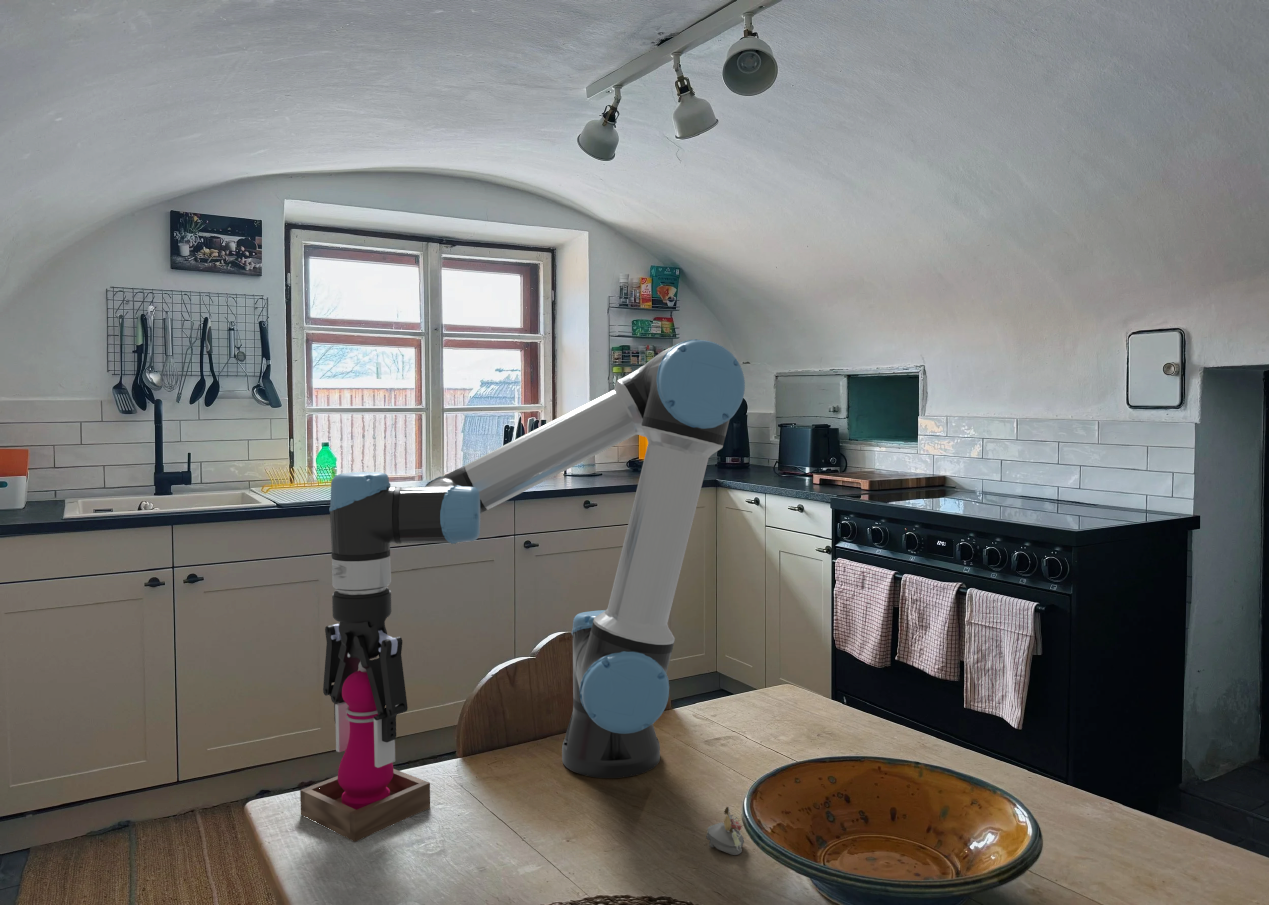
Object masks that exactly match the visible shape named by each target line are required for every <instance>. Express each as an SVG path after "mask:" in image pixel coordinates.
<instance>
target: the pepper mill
mask: <svg viewBox="0 0 1269 905" xmlns="http://www.w3.org/2000/svg"><path fill="white" fill-rule="evenodd" d="M342 697H343V700H344V701H345V702H346V704H347V705H348V707H347V709H346V712H347V715H346V719H347V720H348V721H349V723H350V735H349V741H348V745H347V748H346V750H345V751H344V753H343V755H342V758H341V760H340V763H339V766H338V769H337V770H338V771H337V776H338V783H339V785H340V786H341V787H342V789H343V790H345V792H344V793H343V794H342V804H345V805H347V806H349V807H351V808H353V809H356V810H357V809H360V808H362V807H364V806H367V805H369V804H372V803H374V802H376V801H379V800H381V799H383V798H386V797H388V796H390V790H389V788H388V787H387V785H388V784H389V783H390V781H391V780H392V778H393V774H394V771H393V769H394V762H392V763H389V764H387V765H384V766H382V767H379V768H377V767H375V756H374V716H377V715H378V712H377V709H376V705H375V701H374V697H373V694H372V690H371V686H370V682H369V679H368V675H367V671H366V669H365V668H363V667H362V665H361V661H360V663H359V665H358V671H356V672H354V673H352V674H351V675H349V676H348V677H347V679H346V680H345V682H344V684H343V687H342Z"/></svg>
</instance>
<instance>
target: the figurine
mask: <svg viewBox="0 0 1269 905" xmlns="http://www.w3.org/2000/svg"><path fill="white" fill-rule="evenodd" d="M723 814H724V815H725V818H724V820H723V822H718V823H715V824H712V825H709V826H708V827H707V833H706V837H705V838H706V839H707V840H708V841H709V842H708V844H709V847H710V848H712V849H713V848H715V849H717V850H718V851H722V852H723V853H726V854H729V855H731V856H733V855H734V856H737V855H740V854H741V853H742V852H743V851H742V850H743V849H742V847H743V845H744V843H745V840H744V836H743V835H742V831H741V829H742V825H741V823H740V820H739V818H738V817H739V815H736V817H735V815H734V814H731V810H730V807H729V806H726V807H725V809H724V812H723Z"/></svg>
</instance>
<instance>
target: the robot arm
mask: <svg viewBox="0 0 1269 905" xmlns="http://www.w3.org/2000/svg"><path fill="white" fill-rule="evenodd" d="M745 387H746V381H745V376H744V371H743V369H742V367H741V364H740V363H739V360H738V359H737V358H736V357H735V355H734V354H733V353H732V352H731V351H730V350H729V349H727V348H726V347H724V346H723V345H720V344H719V343H717V342H713V341H710V340H703V339H702V340H701V339H697V338H694V339H688V340H684V341H681V342H679V343H677V344H675V345H673V346H669V347H668V348H666V349H664V350H662V351H661V352H660V353H658V354H657V355H655V356H654V357H653V358H651V359H650V360H649V361H648V362H646V363H645V364H644V365H642V366H640V367H638V368H637V369H636V370H634V371H632V372H630V373H628V374H627V375H626V376H623V377H622V378H619V379H617V381H616V383H615V385H614V388H613V389H612V390H610V391H609V392H607V393H604V394H603V395H601V396H599V397H597V398H595V399H592V400H590V401H588V402H587V403H585V404H583V405H581V406H578V407H577V408H575V409H573V410H571V411H569V412H567V413H565V414H563V415H561V416H559V417H558V418H554V419H553V420H551V421H549V422H547V423H545V424H544V425H543V424H542V426H540V427H538V428H535V429H533V430H532V431H529V432H528V433H525V434H523V435H522V436H520V437H517V438H516V439H514V440H512V441H510V442H508V443H506V444H504V445H502V446H500V447H497V448H496V449H494V450H492V451H490V452H488V453H486V454H483V455H482V456H479V457H478V458H476V459H475V460H472V461H470V462H468V463H466V464H464V466H461V467H458V468H457V469H455V470H453V471H450V472H449V473H447V474H445V475H442V476H438V477H436V478H434V479H432V480H431V481H428V482H427V483H426V485H425V486H415V487H411V486H410V487H401V486H400V487H399V486H398V487H397V486H391V483H390V479H389V478H390V477H389V475H388V474H387V473H385V472H382V471H381V472H380V471H376V472H375V471H356V472H345V473H343V472H342V473H338V474H336V475H335V476H333V478H332V479H331V483H330V484H331V485H330V506H329V508H328V509H329V511H328V512H329V517H330V521H329V522H330V542H331V544H330V545H331V575H332V576H331V578H332V579H331V582H332V583H331V584H332V587H333V588H334V589H335V590H334V592H333V593H332V595H331V596H332V598H331V599H332V600H331V602H332V603H331V604H332V607H331V608H332V618H333V619H334V620H335V621H337V622H338V623H335V624H330V625H327V626H325V628H324V632H325V640H326V646H325V647H326V648H325V660H324V661H325V662H324V671H323V672H324V674H323V675H324V676H323V685H322V686H323V687H322V692H323V695H324V696H329V697H330V700H331V702H332V703H333V708H334V711H333V712H334V713H333V714H334V718H333V719H334V724H335V752H337V753H341V752H345V751H346V748H347V745H348V741H349V735H350V723H349V721H348V720H347V719H346V715H347V712H346V709H347V707H348V705H347V704H346V702H345V701H344V700H343V697H342V687H343V684H344V682H345V680H346V679H347V677H348V676H349V675H351V674H352V673H354V672H356V671H359V668H358V665H359V663H360V661H361V665H362V667H363V668H365V669H366V671H367V675H368V679H369V682H370V686H371V690H372V694H373V697H374V701H375V705H376V709H377V712H378V715H377V716H374V756H375V767H377V768H379V767H382V766H384V765H387V764H389V763H394V762H396V739H397V715H400V714H403V713H405V712H407V711H408V708H409V707H408V700H407V692H406V683H405V677H404V675H405V674H404V667H403V659H402V651H403V639H402V637H401V636H396V637H393V636H391V635H388V631H387V627H386V620H387V618H389V617H390V616H391V614H392V591H391V589H390V588H389V587H388V586H390V585H391V583H392V560H391V549H390V548H391V544H408V543H409V544H421V543H422V544H424V543H426V544H428V543H429V544H431V543H435V544H436V543H445V544H446V543H450V544H452V545H453V544H455V545H456V544H457V543H464V542H473V541H476V540H478V538H479V537H480V536H481V514H483V513H485V512H486V511H488V510H490V509H492V508H494V507H497V506H498V505H500V504H503V503H505V502H506V501H509V500H510V499H512V498H514V497H516V496H518V495H520V494H522V493H524V492H526V491H528V490H529V489H533V487H536V486H538V485H540V484H542V483H543V482H545V481H548V480H549V479H551V478H553V477H555V476H558V475H560V474H561V473H564V472H565V471H567V470H569V469H571V468H573V467H575V466H577V465H579V464H581V463H583V462H585V461H587V460H589V459H590V458H593V457H595V456H596V455H599V454H601V453H603V452H605V451H607V450H608V449H611V448H612V447H614V446H616V445H618V444H621V443H622V442H625V441H627V440H629V439H630V438H632V437H634V436H637V435H639V436H641V437H645V438H646V439H647V446H646V451H645V455H644V458H643V459H644V460H643V462H642V466H641V471H640V474H639V475H640V476H639V480H638V483H637V487H636V492H635V496H634V499H633V500H634V501H633V503H632V508H631V512H630V515H629V520H628V523H627V528H626V532H625V535H624V540H623V544H622V548H621V552H620V556H619V559H618V564H617V569H616V571H615V572H616V573H615V576H614V581H613V584H612V589H611V593H610V596H609V601H608V605H607V608H606V609H603V610H602V609H601V610H591V611H590V610H589V611H584V612H579V613H577V614H575V616H574V617H573V621H572V630H571V636H572V688H573V689H572V693H573V694H572V698H573V699H572V700H573V704H572V705H573V706H572V713H571V717H570V719H569V723H568V726H567V729H566V733H565V736H564V739H563V742H562V747H561V760H562V764H563V765H564V766H565V767H566V768H567V769H568V770H569V771H572V772H573V773H577V774H578V775H583V776H586V777H591V778H592V777H593V778H599V779H618V778H619V779H620V778H621V779H622V778H628V777H633V776H637V775H641V774H644V773H647V772H649V771H651V770H653V769H654V768H655V767H657V765H658V764H659V763H660V760H661V745H660V741H659V739H658V737H657V734H656V730H655V727H654V723H656V722H657V721H658V719H660V717H661V716H662V714H663V713H664V711H665V709H666V707H667V705H668V702H669V697H670V684H669V683H670V681H669V677H668V675H667V673H668V668H669V665H670V661H671V657H672V652H673V648H674V644H675V640H676V637H675V635H673V632H672V630H671V629H670V628H669V624H668V623H669V618H670V614H671V610H672V607H673V601H674V599H675V595H676V592H677V586H678V582H679V578H680V576H681V575H680V573H681V571H682V566H683V562H684V559H685V555H686V551H687V546H688V543H689V542H688V541H689V538H690V534H691V530H692V526H693V521H694V519H695V515H696V510H697V505H698V502H699V498H700V494H701V491H702V490H701V489H702V486H703V482H704V477H705V474H706V469H707V467H708V466H707V465H708V462H709V458H710V457H712V455H713V454H715V453H716V452H718V451H720V450H722V449H723V447H724V443H725V440H726V435H727V432H728V428H729V423H730V420H731V419H732V418H733V417H734V416H735V414H736V413H737V411H738V410H739V408H740V406H741V404H742V402H743V400H744V395H745V389H746V388H745ZM377 657H378V658H377ZM333 683H334V684H333Z"/></svg>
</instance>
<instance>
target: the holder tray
mask: <svg viewBox="0 0 1269 905" xmlns="http://www.w3.org/2000/svg"><path fill="white" fill-rule="evenodd" d="M393 771H394V774H393V778H392V780H391V781H390V783H389V784H388V785H387V787H388V788H389V790H390V796H388V797H386V798H383V799H381V800H379V801H376V802H374V803H372V804H369V805H367V806H364V807H362V808H360V809H357V810H356V809H353V808H351V807H349V806H347V805H345V804H342V794H343V793H344V792H345V790H343V789H342V787H341V786H340V785H339V783H338V775H336V776H333V777H332V778H329V779H326V780H324V781H321V782H317V783H316V784H312V785H310V786H308V787H305V788H301V789H300V791H299V792H300V793H299V794H300V800H299V801H300V816H301V815H303V816H305V817H308V818H309V819H311V820H313V821H316V822H317V823H319V824H321V825H323V826H325V827H327V828H329V829H331V830H333V831H335V832H336V834H337V833H338V835H339V834H340V835H339V836H341V837H343V838H346V839H348V840H350V841H352V842H353V843H357V842H358V841H361V840H363V839H365V838H368V837H369V836H371V835H373V834H374V835H375V834H376V833H378V832H380V831H383V830H385V829H386V828H389V827H391V825H392V826H393V824H394V825H396V824H398V823H400V822H402V820H403V821H405V820H406V819H409V818H411V817H413V816H416V815H418V814H420V813H423V812H425V811H427V810H429V809H431V783H430V782H428V781H426V780H424V779H422V778H419V777H416V776H413V775H411V774H410V773H409V774H408V773H406V772H403V771H400V770H398V769H395V768H393ZM319 788H320V789H319ZM303 816H302V817H303ZM305 817H304V818H305ZM309 819H308V820H309ZM311 820H310V821H311ZM313 821H312V822H313ZM317 823H316V824H317ZM319 824H318V825H319ZM321 825H320V826H321ZM323 826H322V827H323ZM325 827H324V828H325ZM327 828H326V829H327ZM329 829H328V830H329ZM331 830H330V831H331ZM333 831H332V832H333ZM335 832H334V833H335Z"/></svg>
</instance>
